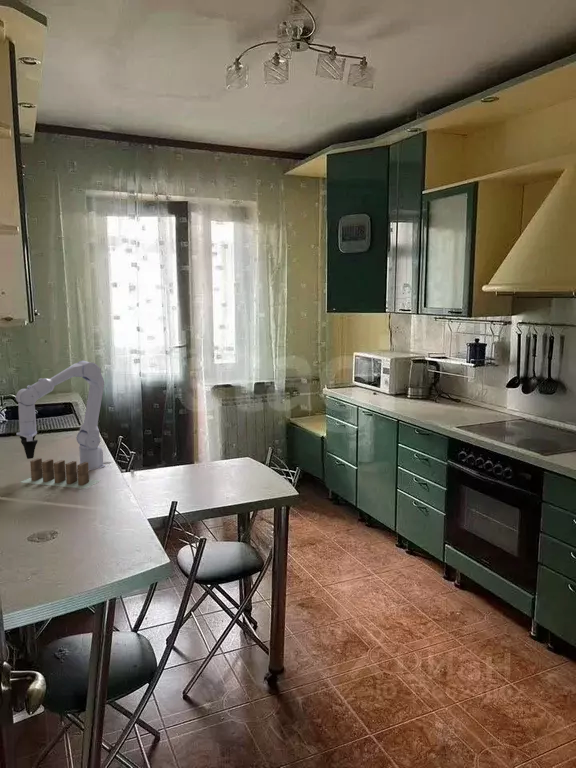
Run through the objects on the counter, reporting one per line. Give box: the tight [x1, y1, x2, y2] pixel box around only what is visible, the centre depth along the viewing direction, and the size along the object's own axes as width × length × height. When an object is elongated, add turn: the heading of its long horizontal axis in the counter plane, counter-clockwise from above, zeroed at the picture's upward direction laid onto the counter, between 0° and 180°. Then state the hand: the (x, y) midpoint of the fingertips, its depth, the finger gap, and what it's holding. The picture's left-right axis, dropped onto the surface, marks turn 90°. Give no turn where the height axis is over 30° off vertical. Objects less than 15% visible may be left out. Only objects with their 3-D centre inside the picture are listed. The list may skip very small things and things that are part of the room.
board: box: [20, 477, 101, 490], centre depth 219 cm, size 10×28×1 cm, turn 75°
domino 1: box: [30, 457, 43, 481], centre depth 220 cm, size 4×2×8 cm, turn 165°
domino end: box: [77, 462, 90, 486], centre depth 216 cm, size 4×2×8 cm, turn 165°
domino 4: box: [65, 460, 78, 484], centre depth 217 cm, size 4×2×8 cm, turn 165°
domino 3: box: [53, 459, 66, 483], centre depth 218 cm, size 4×2×8 cm, turn 165°
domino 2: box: [42, 458, 55, 482], centre depth 219 cm, size 4×2×8 cm, turn 165°
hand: (29, 455), depth 220 cm, fingers open, 7 cm apart
